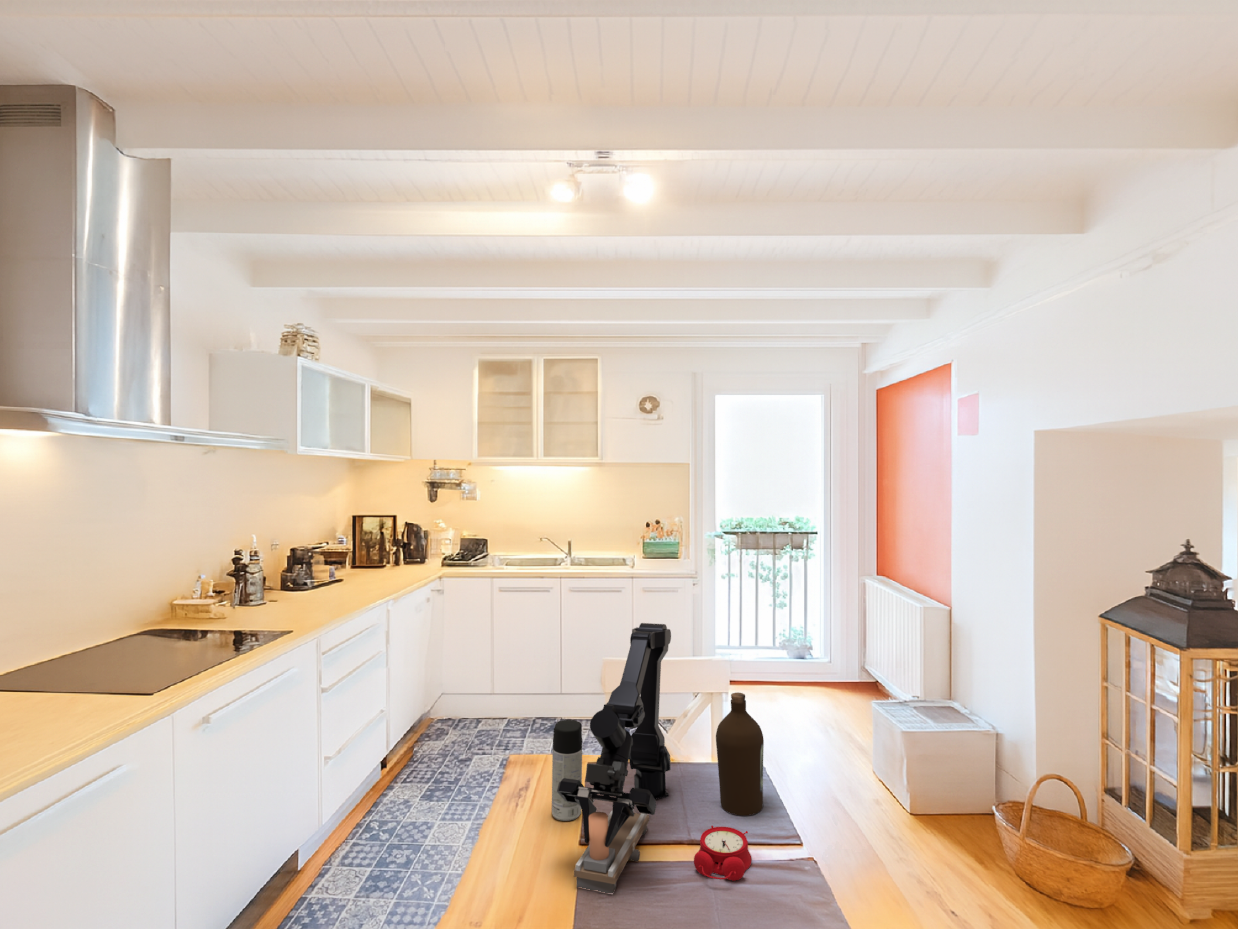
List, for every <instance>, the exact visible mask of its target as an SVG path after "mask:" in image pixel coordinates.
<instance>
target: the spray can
mask: <svg viewBox="0 0 1238 929" xmlns="http://www.w3.org/2000/svg"><path fill="white" fill-rule="evenodd" d="M582 733H583V729H582V723H581V722H580V721H578V720H575V719H563V720H558V721H557V722H556V723H555V724H554V727H553V735H552V736H553V737H552V756H551V757H552V766H551V768H552V769H551V815H552V817H553V818H554V819H556V820H558V821H560V822H561V821H563V822H566V821H567V822H568V821H569V822H570V821H574V820H576V819H578V818H579V817H580V816H581V815H582V809H581V807H580V805H579V804H577V803H570V802H566V801H564V799H563V798H562V797H561V796H560V795H559V794H558V792H557V789H558V785H559V782H560V781H561V780H562V779H563V778H567V779H574V780H579V781H580V782H581V783H582V784H583V780H582V779H583V734H582Z"/></svg>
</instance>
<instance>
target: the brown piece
mask: <svg viewBox="0 0 1238 929" xmlns="http://www.w3.org/2000/svg"><path fill="white" fill-rule="evenodd" d="M612 810H613V808H612ZM612 810H611V811H610V812H609V814H607V815H608V827H609V824H610V820H611V816H612ZM634 813H635V814H634V816H633V817H632V816H630V817H629V818H628V819H627V820H626V822H625V823H624V824H623V825H622V827H621V828H620V829H619V831H618V832H617V834H616V836H615V837H614V839H613V840H612V842H611V844H610V845H609V848H613V849H615V859H614V860H613V862H612V864H611V866H610V867H609V869H608V871H607V873H603V872H597V871H592V870H586V869H584V861H583V860H584V859H585V857H586V856H587V854H588V853H589V851H590V845H589V844H587V847H586V848H585V850H584V851H583V853H582V855H580V857H579V859H578V860H577V862H576V863H575V867H574V868H573V877H574V878H575V879H576V888H577V889H579V888H578V887H582V888H586V889H590V890H598V891H601V892H605V893H613V892H615V891H616V889H617V881H618V880H619V878H620V876H621V873H622V872H623V870H624V868H625V866H626V864H627V862H628V861H631V862H637V863H638V862H639V861H640V857H641V852H640V850H639V849H636V847H637V844H638V842H639V840H640V838H641V836H643V835H644V836H645V835H646V833H647V831H648V824H649V822H650V814H643V813H639V812H634ZM590 890H589V891H590ZM614 890H615V891H614ZM605 893H604V894H605ZM613 894H614V893H613Z"/></svg>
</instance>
